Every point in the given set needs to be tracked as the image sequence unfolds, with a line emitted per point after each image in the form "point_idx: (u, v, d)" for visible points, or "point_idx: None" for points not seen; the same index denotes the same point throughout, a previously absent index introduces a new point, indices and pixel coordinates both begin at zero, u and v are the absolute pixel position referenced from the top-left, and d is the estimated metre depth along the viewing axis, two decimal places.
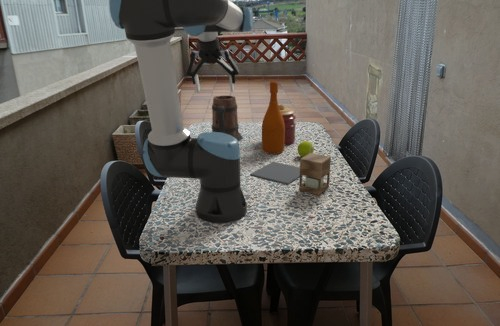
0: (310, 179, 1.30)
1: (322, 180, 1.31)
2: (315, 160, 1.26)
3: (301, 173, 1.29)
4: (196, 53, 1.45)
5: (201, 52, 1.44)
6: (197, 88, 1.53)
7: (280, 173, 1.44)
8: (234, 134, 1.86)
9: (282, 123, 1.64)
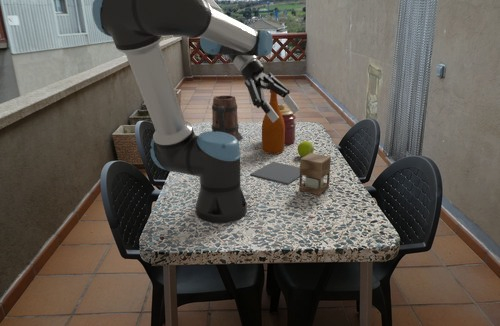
0: (310, 179, 1.30)
1: (322, 180, 1.31)
2: (315, 160, 1.26)
3: (301, 173, 1.29)
4: None
5: (255, 76, 1.30)
6: (275, 112, 1.25)
7: (280, 173, 1.44)
8: (234, 134, 1.86)
9: (282, 123, 1.64)
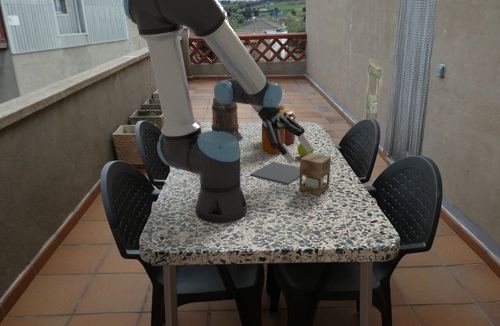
0: (310, 179, 1.30)
1: (322, 180, 1.31)
2: (315, 160, 1.26)
3: (301, 173, 1.29)
4: None
5: (271, 117, 1.33)
6: (292, 155, 1.28)
7: (280, 173, 1.44)
8: (234, 134, 1.86)
9: None
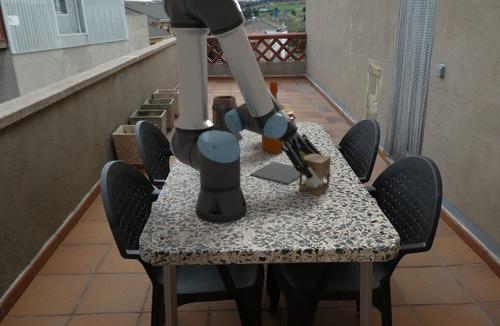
0: None
1: (322, 180, 1.31)
2: (315, 160, 1.26)
3: (301, 173, 1.29)
4: None
5: (288, 138, 1.29)
6: (318, 178, 1.26)
7: (280, 173, 1.44)
8: (234, 134, 1.86)
9: None
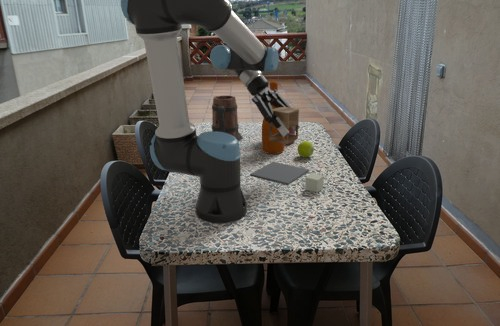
0: (310, 179, 1.30)
1: (322, 180, 1.31)
2: (283, 111, 1.35)
3: (271, 124, 1.38)
4: None
5: (259, 91, 1.37)
6: (285, 127, 1.34)
7: (280, 173, 1.44)
8: (234, 134, 1.86)
9: None
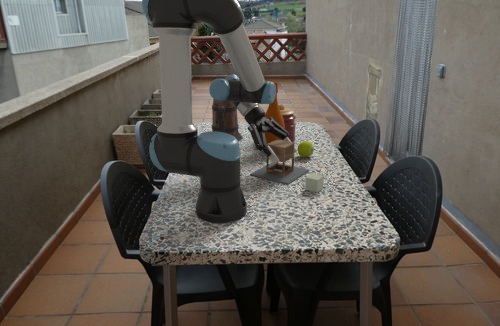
0: (310, 179, 1.29)
1: (322, 180, 1.31)
2: (279, 145, 1.40)
3: (267, 157, 1.43)
4: (253, 125, 1.41)
5: (256, 121, 1.42)
6: (276, 156, 1.37)
7: None
8: (234, 134, 1.86)
9: (282, 123, 1.64)
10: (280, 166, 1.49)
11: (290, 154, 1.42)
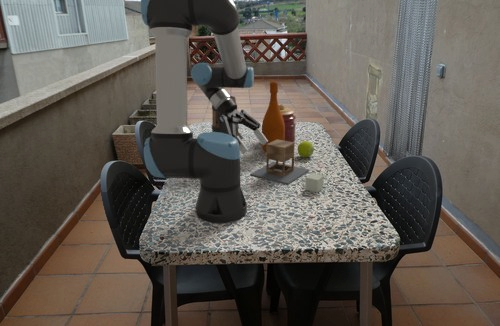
0: (310, 179, 1.29)
1: (322, 180, 1.31)
2: (279, 145, 1.40)
3: (267, 157, 1.43)
4: (224, 117, 1.48)
5: (228, 113, 1.49)
6: (244, 145, 1.44)
7: None
8: None
9: (282, 123, 1.64)
10: (280, 166, 1.49)
11: (290, 154, 1.42)
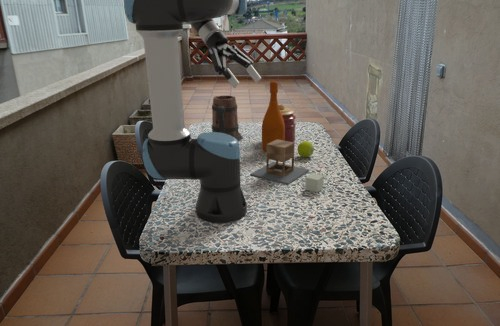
0: (310, 179, 1.29)
1: (322, 180, 1.31)
2: (279, 145, 1.40)
3: (267, 157, 1.43)
4: None
5: (218, 46, 1.38)
6: (235, 78, 1.33)
7: None
8: (234, 134, 1.86)
9: (282, 123, 1.64)
10: (280, 166, 1.49)
11: (290, 154, 1.42)
